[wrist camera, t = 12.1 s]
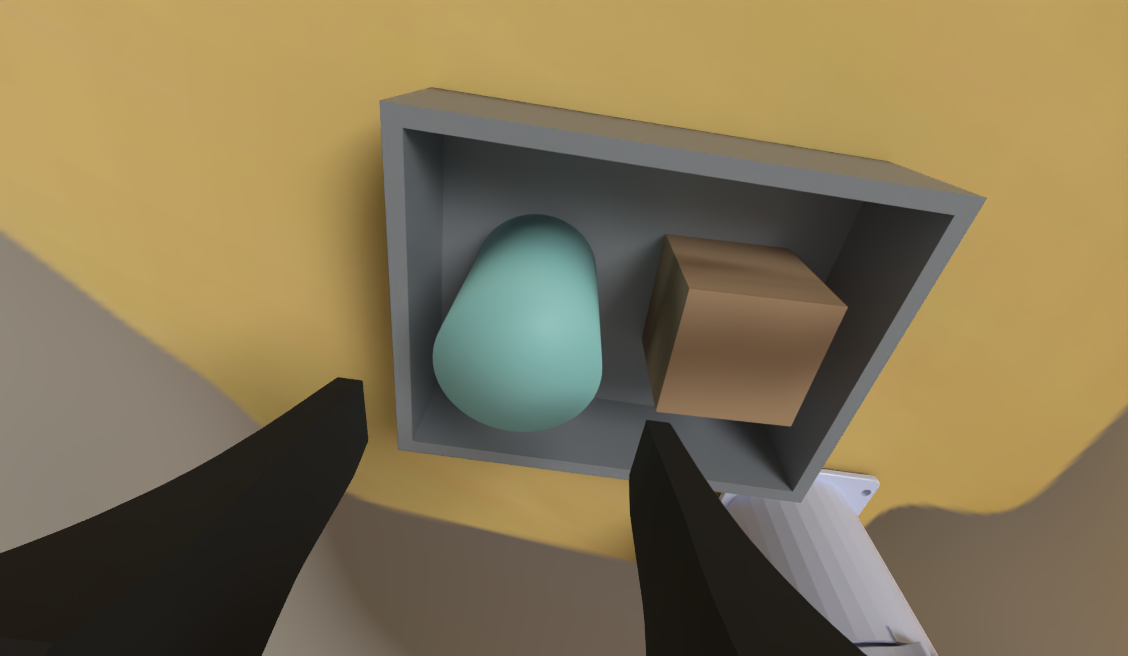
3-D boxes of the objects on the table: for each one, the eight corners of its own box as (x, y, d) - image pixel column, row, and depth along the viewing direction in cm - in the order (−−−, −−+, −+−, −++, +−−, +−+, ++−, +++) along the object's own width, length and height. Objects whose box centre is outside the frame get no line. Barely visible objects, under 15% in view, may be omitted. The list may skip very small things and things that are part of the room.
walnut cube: (749, 350, 21) (790, 426, 17) (641, 338, 21) (655, 411, 17) (788, 248, 19) (847, 307, 15) (665, 233, 19) (689, 288, 14)
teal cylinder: (583, 331, 21) (583, 442, 15) (473, 312, 21) (429, 418, 15) (608, 226, 19) (620, 310, 13) (484, 202, 18) (436, 277, 12)
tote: (763, 422, 24) (801, 502, 20) (432, 377, 24) (398, 449, 19) (889, 161, 18) (986, 198, 13) (431, 87, 17) (379, 100, 13)
